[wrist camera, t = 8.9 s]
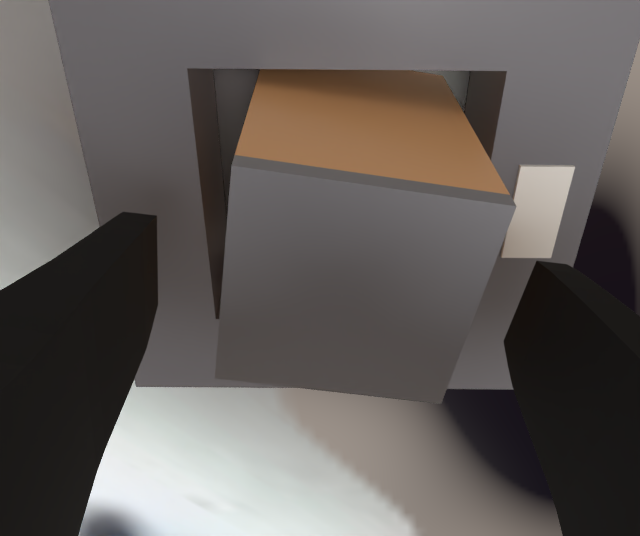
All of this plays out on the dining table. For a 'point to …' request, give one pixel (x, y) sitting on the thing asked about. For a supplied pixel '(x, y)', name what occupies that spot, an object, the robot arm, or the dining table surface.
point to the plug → (356, 234)
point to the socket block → (339, 54)
